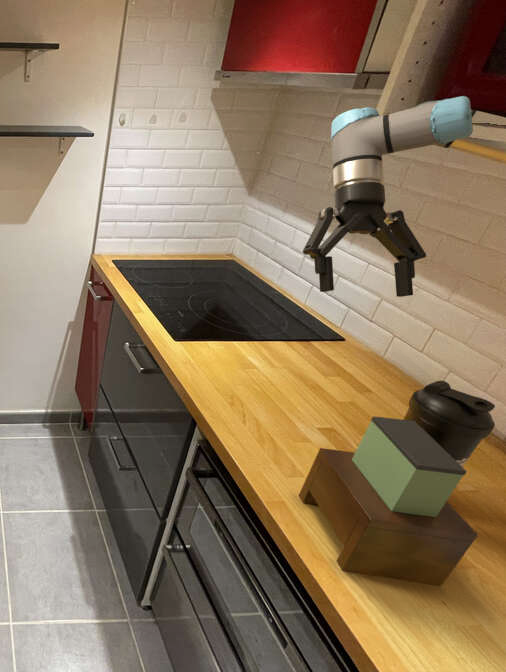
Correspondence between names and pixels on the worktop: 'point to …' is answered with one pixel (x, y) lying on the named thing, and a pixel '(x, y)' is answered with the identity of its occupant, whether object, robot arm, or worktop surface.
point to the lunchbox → (407, 466)
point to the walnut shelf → (383, 525)
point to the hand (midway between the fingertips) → (365, 293)
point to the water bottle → (451, 418)
